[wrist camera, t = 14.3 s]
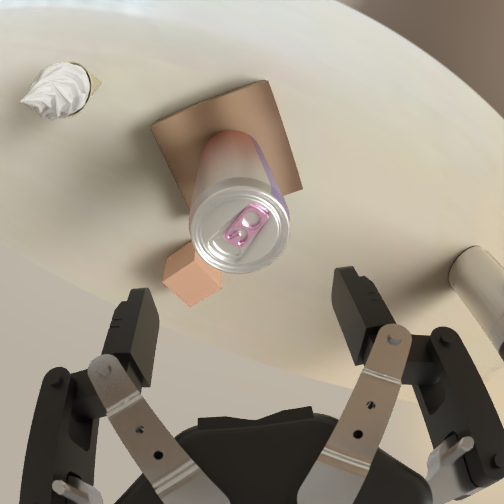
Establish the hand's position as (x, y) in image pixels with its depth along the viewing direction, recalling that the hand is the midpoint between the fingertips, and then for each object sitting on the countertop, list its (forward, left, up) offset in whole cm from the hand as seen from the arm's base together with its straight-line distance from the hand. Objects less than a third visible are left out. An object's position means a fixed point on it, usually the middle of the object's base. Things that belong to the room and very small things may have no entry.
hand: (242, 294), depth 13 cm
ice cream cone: (+13, -10, -23) cm, 28 cm away
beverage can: (0, 0, -20) cm, 20 cm away
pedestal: (0, 0, -23) cm, 23 cm away
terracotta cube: (+6, +14, -23) cm, 28 cm away
